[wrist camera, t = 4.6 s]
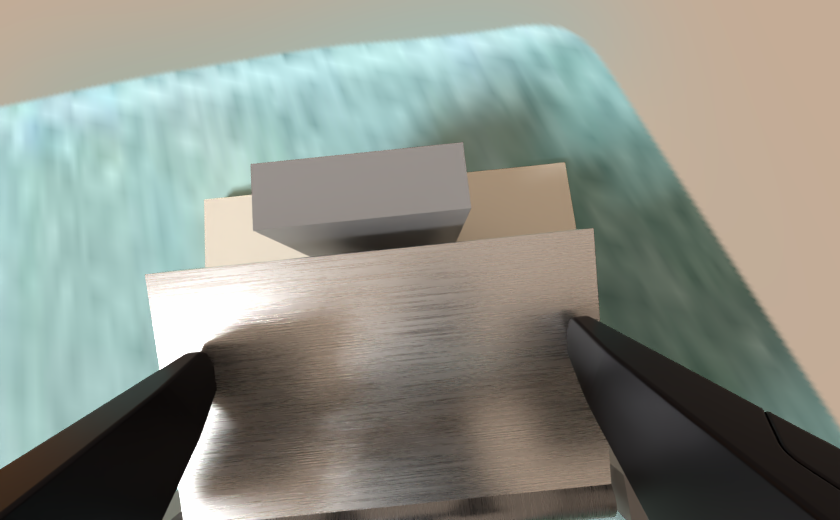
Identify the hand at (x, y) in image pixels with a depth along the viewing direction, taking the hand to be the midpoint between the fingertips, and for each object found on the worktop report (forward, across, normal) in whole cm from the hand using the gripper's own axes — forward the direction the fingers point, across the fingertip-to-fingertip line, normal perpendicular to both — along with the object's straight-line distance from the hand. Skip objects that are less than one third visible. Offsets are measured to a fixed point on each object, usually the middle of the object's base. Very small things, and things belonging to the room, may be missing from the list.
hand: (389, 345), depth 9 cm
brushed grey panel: (-2, 0, -4) cm, 5 cm away
